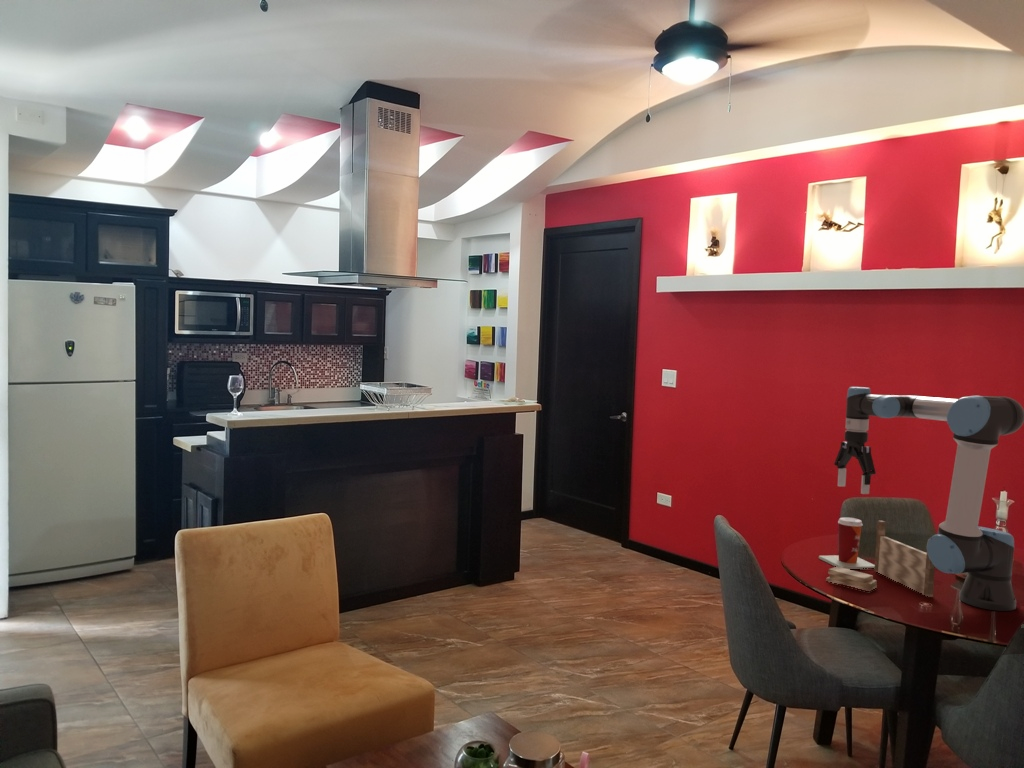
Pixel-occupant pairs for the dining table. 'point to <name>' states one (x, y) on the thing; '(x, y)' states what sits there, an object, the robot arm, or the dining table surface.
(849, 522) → the coffee cup
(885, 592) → the dining table surface
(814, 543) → the dining table surface
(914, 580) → the brown flat upright panel
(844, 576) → the offcut stack
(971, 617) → the dining table surface
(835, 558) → the sage board
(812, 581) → the dining table surface
